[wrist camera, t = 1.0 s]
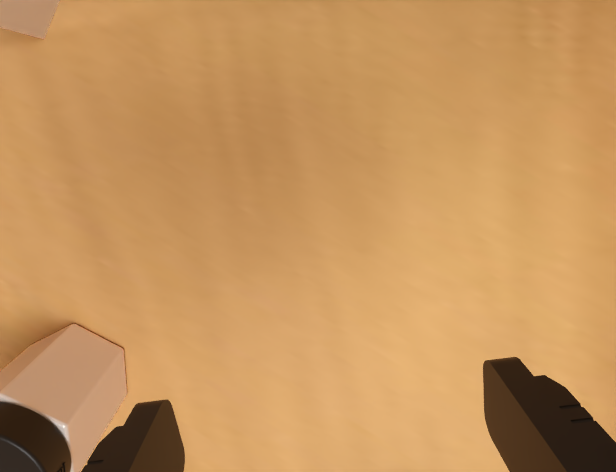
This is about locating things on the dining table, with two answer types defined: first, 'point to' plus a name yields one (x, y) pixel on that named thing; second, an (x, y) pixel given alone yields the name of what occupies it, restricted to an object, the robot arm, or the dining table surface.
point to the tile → (27, 16)
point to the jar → (59, 401)
